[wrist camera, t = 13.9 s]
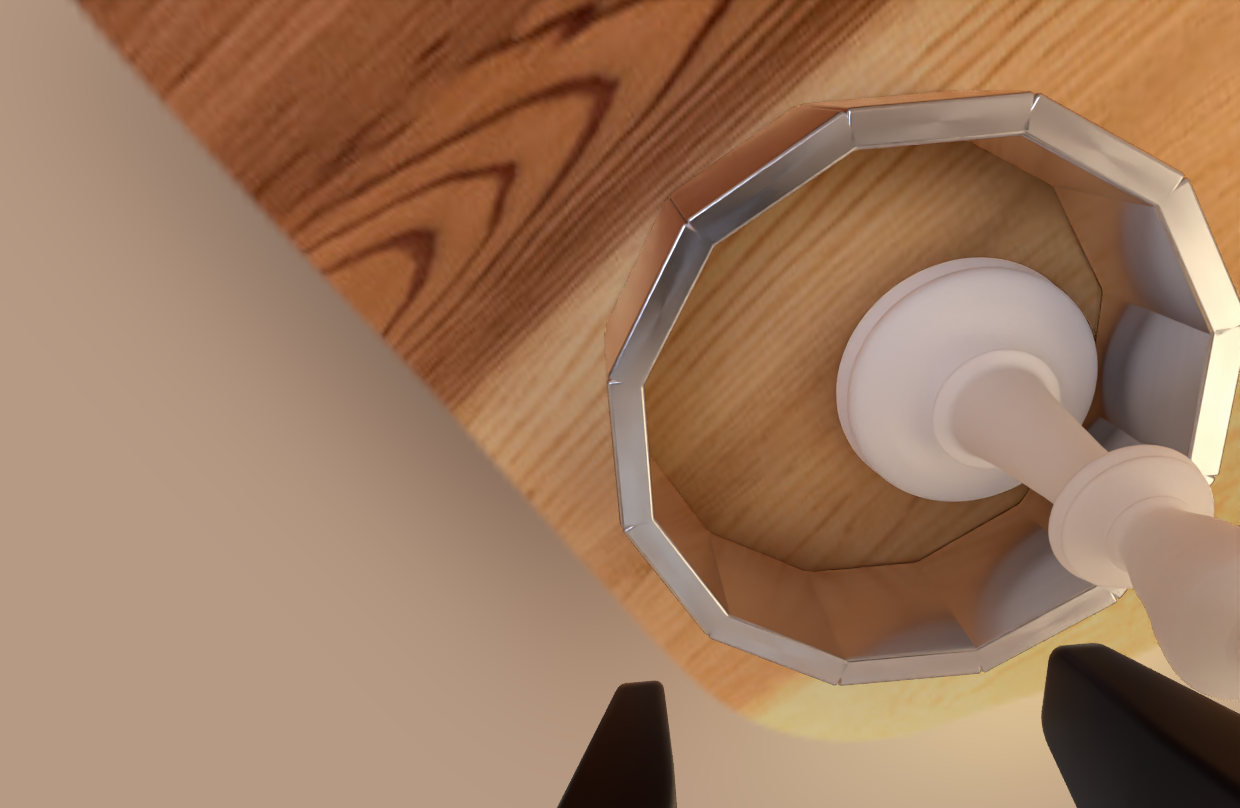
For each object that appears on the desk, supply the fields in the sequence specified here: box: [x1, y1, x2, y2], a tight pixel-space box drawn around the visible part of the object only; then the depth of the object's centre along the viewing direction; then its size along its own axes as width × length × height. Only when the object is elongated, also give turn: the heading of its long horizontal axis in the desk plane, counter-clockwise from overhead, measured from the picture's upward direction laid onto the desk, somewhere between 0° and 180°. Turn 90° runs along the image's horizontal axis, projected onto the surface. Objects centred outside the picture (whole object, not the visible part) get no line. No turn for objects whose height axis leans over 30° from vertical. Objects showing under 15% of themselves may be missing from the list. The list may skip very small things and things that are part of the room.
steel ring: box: [605, 90, 1240, 686], centre depth 15 cm, size 10×10×3 cm
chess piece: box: [836, 257, 1240, 701], centre depth 12 cm, size 5×5×10 cm
